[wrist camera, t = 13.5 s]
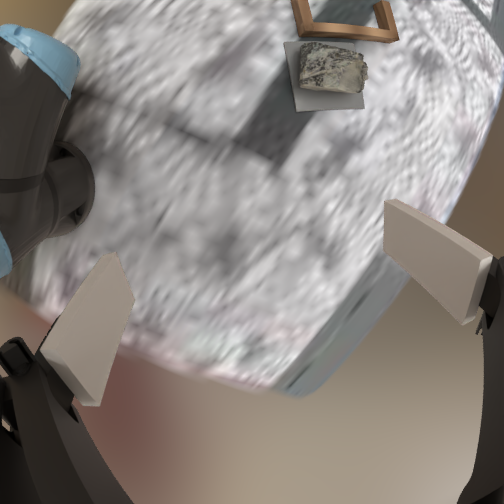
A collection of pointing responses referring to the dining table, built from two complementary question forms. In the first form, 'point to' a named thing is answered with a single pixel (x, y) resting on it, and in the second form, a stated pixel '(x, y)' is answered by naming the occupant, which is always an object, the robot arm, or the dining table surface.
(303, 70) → the stone
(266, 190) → the dining table surface
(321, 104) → the slate coaster
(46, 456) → the robot arm
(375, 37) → the frame
